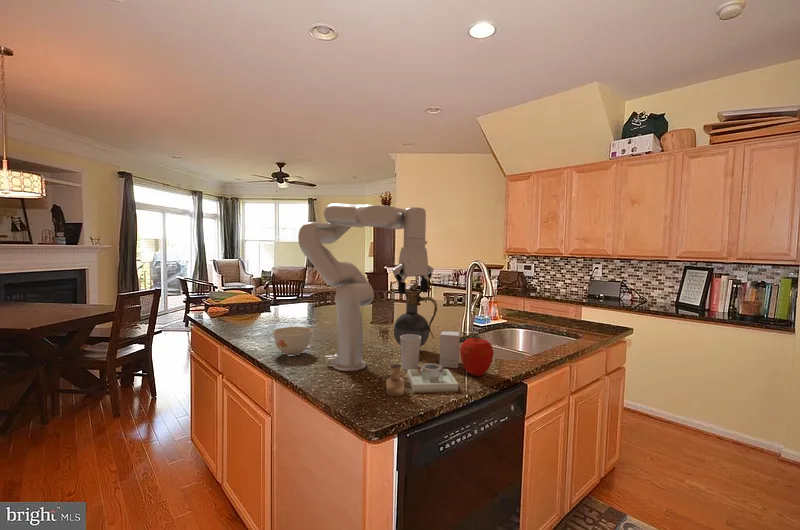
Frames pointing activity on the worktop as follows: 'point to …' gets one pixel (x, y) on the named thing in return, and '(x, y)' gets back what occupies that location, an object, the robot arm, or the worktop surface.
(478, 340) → the apple
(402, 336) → the cup
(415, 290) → the pitcher
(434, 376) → the ring
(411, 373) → the tray
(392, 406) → the worktop surface
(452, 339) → the supplement box
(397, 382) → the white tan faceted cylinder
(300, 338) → the bowl
